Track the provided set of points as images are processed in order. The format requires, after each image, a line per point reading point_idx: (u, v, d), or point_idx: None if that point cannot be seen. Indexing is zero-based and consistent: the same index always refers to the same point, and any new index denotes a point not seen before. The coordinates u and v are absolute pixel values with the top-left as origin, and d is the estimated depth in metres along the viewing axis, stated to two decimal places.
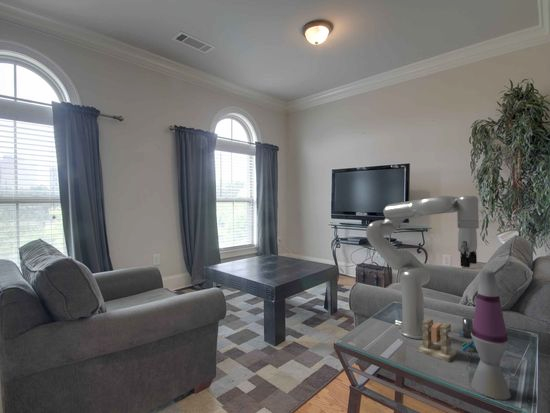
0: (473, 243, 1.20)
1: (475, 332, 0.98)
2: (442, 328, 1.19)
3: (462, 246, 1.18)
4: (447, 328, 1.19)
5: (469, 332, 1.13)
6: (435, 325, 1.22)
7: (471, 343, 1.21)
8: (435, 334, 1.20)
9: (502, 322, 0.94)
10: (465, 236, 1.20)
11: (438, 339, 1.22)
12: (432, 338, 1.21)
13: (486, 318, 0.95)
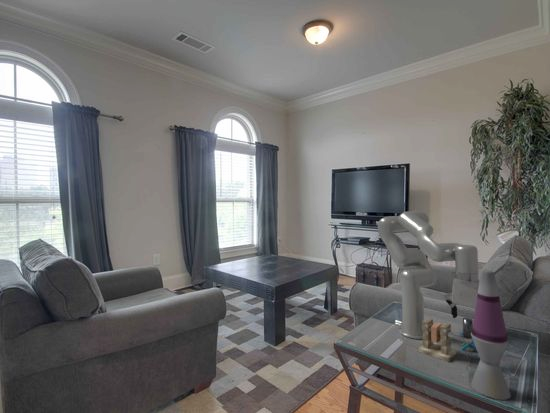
0: None
1: (475, 332, 0.98)
2: (442, 328, 1.19)
3: None
4: (447, 328, 1.19)
5: (469, 332, 1.13)
6: (435, 325, 1.22)
7: None
8: (435, 334, 1.20)
9: (502, 322, 0.94)
10: None
11: (438, 339, 1.22)
12: (432, 338, 1.21)
13: (486, 318, 0.95)
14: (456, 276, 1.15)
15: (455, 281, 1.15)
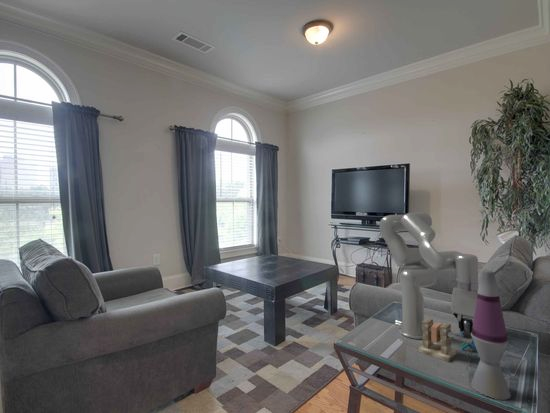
0: None
1: (475, 332, 0.98)
2: (442, 328, 1.19)
3: None
4: (447, 328, 1.19)
5: (469, 332, 1.13)
6: (435, 325, 1.23)
7: None
8: (435, 334, 1.20)
9: (502, 322, 0.94)
10: None
11: (438, 339, 1.22)
12: (432, 338, 1.21)
13: (486, 318, 0.95)
14: (456, 285, 1.15)
15: (455, 290, 1.15)
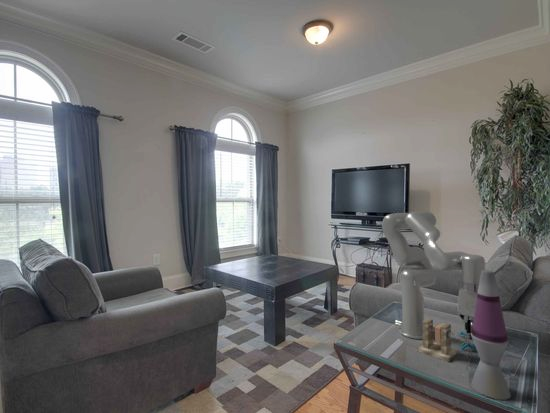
0: None
1: (475, 332, 0.98)
2: (442, 328, 1.19)
3: None
4: (447, 328, 1.19)
5: None
6: (439, 326, 1.21)
7: None
8: (439, 335, 1.19)
9: (502, 322, 0.94)
10: None
11: None
12: (436, 339, 1.20)
13: (486, 318, 0.95)
14: (462, 286, 1.14)
15: (461, 291, 1.14)
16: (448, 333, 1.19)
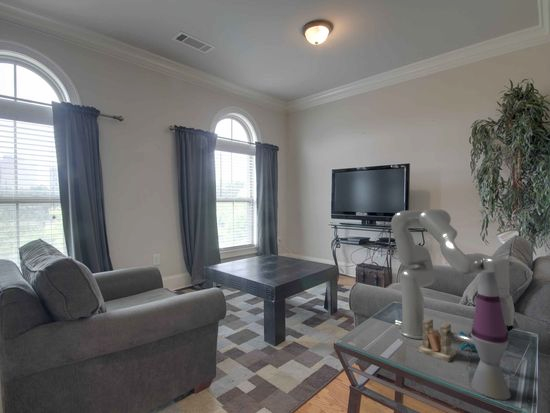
0: None
1: (475, 332, 0.98)
2: (442, 328, 1.19)
3: (518, 323, 1.03)
4: (447, 328, 1.19)
5: None
6: (431, 333, 1.24)
7: None
8: (434, 342, 1.21)
9: (502, 322, 0.94)
10: (512, 305, 1.04)
11: (439, 347, 1.21)
12: (432, 347, 1.21)
13: (486, 318, 0.95)
14: None
15: None
16: (468, 339, 1.13)
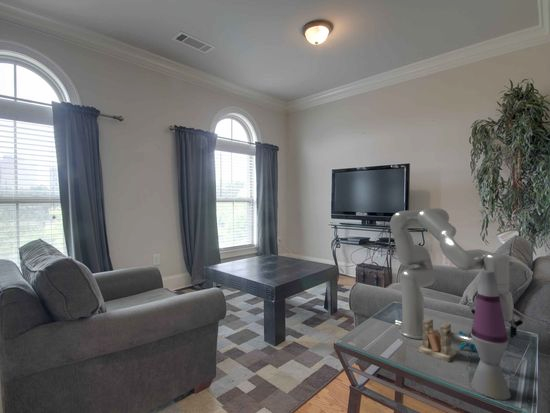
0: None
1: (475, 332, 0.98)
2: (442, 328, 1.19)
3: (523, 315, 1.02)
4: (447, 328, 1.19)
5: None
6: (431, 333, 1.24)
7: None
8: (434, 342, 1.21)
9: (502, 322, 0.94)
10: None
11: (439, 347, 1.21)
12: (432, 347, 1.21)
13: (486, 318, 0.95)
14: None
15: None
16: (469, 339, 1.13)
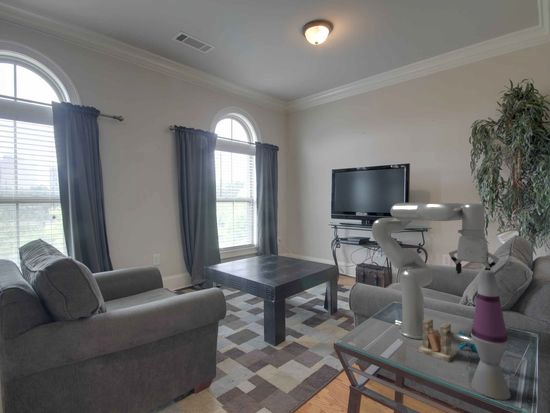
0: None
1: (475, 332, 0.98)
2: (442, 328, 1.19)
3: (496, 257, 1.12)
4: (447, 328, 1.19)
5: None
6: (431, 333, 1.24)
7: None
8: (434, 342, 1.21)
9: (502, 322, 0.94)
10: (486, 246, 1.15)
11: (439, 347, 1.21)
12: (432, 347, 1.21)
13: (486, 318, 0.95)
14: (462, 233, 1.19)
15: (461, 238, 1.19)
16: (469, 339, 1.13)
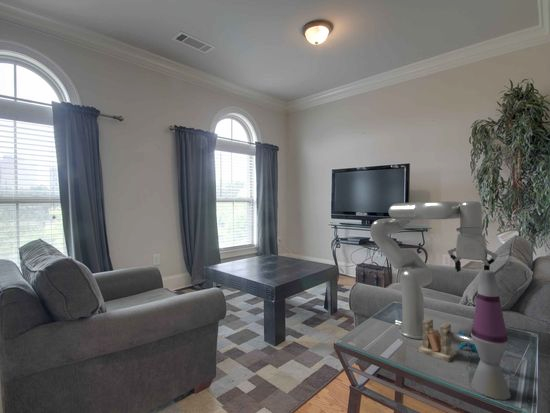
0: None
1: (475, 332, 0.98)
2: (442, 328, 1.19)
3: None
4: (447, 328, 1.19)
5: None
6: (431, 333, 1.24)
7: None
8: (434, 342, 1.21)
9: (502, 322, 0.94)
10: (485, 243, 1.16)
11: (439, 347, 1.21)
12: (432, 347, 1.21)
13: (486, 318, 0.95)
14: (460, 231, 1.20)
15: (459, 236, 1.20)
16: (469, 339, 1.13)
